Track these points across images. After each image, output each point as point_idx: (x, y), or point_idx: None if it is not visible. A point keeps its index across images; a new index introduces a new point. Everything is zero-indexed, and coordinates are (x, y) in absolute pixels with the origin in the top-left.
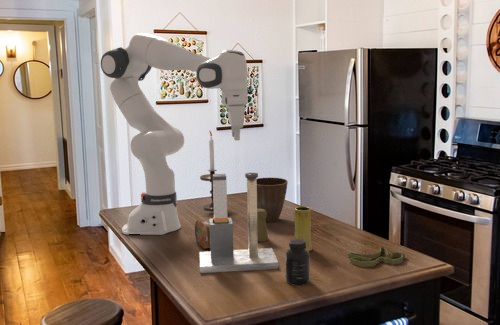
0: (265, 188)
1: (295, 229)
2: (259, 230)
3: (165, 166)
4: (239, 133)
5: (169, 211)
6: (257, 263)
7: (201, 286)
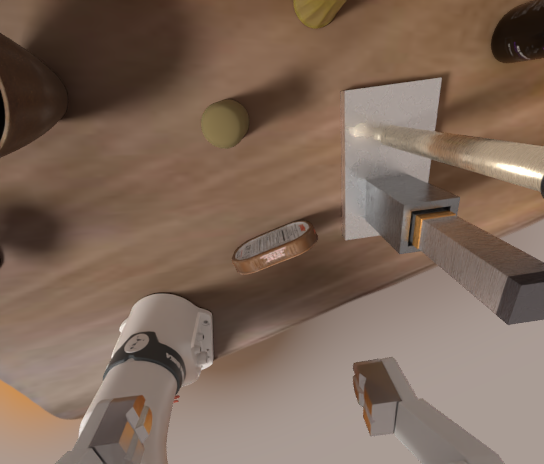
0: (16, 103)
1: (336, 5)
2: (245, 123)
3: (147, 452)
4: (445, 417)
5: (177, 334)
6: (435, 125)
7: (471, 215)
